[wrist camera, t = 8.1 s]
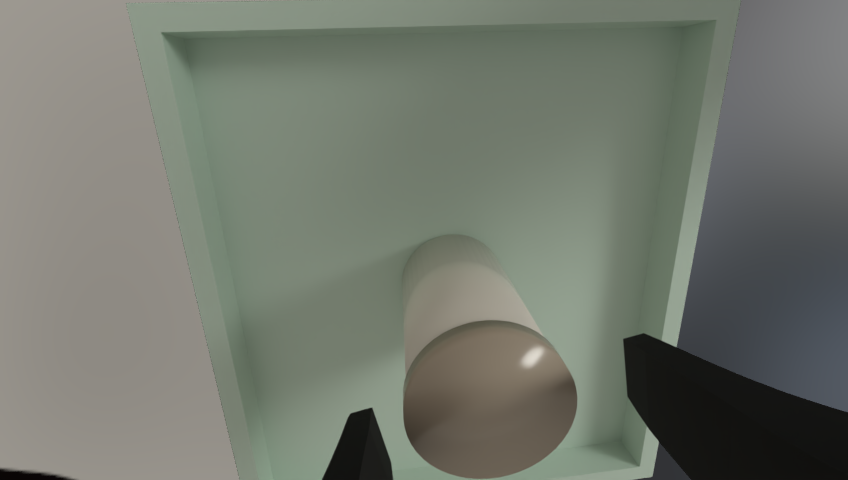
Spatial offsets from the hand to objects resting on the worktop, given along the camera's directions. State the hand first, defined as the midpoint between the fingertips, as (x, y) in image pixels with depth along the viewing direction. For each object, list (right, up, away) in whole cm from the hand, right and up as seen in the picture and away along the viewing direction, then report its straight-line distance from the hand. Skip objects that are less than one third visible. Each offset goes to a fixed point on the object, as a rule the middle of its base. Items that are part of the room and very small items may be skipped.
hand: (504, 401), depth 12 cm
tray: (-1, +3, +8) cm, 8 cm away
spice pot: (-1, +3, +7) cm, 7 cm away
